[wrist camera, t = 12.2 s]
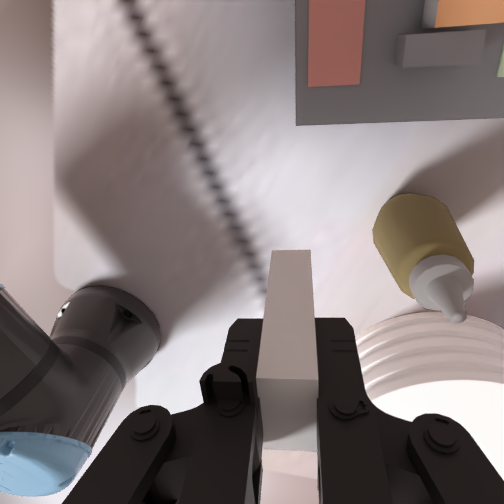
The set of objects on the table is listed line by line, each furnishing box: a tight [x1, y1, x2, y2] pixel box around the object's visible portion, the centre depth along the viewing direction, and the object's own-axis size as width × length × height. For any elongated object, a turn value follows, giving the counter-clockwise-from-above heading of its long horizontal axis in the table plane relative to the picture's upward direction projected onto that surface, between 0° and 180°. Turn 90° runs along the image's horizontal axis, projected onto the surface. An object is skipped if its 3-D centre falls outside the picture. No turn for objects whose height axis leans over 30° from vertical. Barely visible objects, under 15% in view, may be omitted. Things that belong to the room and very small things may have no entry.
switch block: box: [295, 0, 504, 126], centre depth 29 cm, size 20×16×11 cm
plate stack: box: [355, 312, 504, 480], centre depth 51 cm, size 28×28×12 cm
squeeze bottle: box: [373, 193, 474, 323], centre depth 35 cm, size 8×8×18 cm
